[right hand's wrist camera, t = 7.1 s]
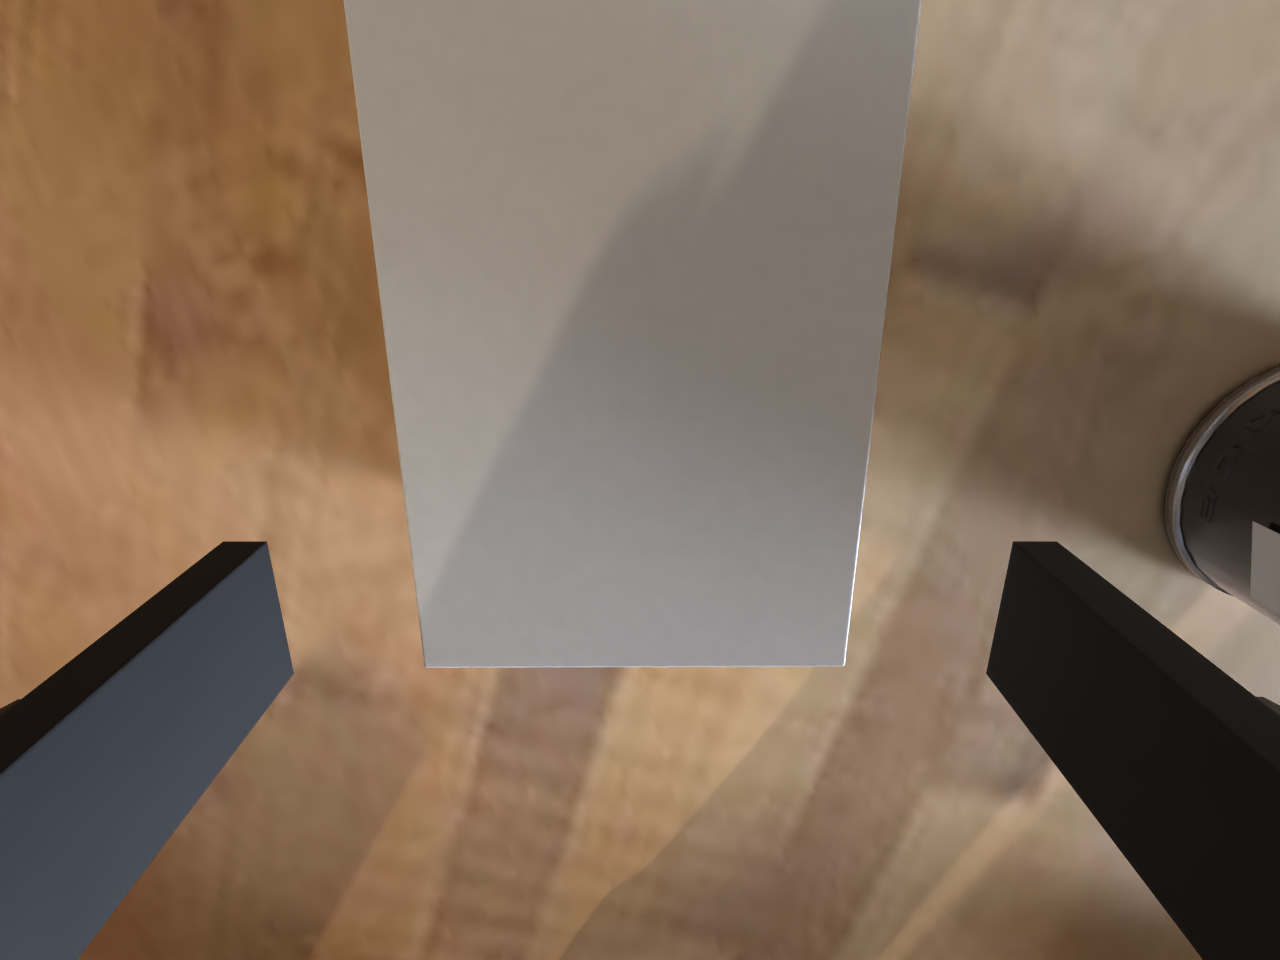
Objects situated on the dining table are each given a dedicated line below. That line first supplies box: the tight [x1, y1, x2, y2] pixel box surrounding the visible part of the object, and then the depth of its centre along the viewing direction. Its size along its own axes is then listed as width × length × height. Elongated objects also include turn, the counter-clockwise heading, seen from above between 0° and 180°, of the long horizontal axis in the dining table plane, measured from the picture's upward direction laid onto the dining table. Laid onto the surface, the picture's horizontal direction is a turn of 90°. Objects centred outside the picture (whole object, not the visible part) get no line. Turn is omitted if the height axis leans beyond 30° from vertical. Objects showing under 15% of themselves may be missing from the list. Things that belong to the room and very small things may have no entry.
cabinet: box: [344, 0, 921, 667], centre depth 19 cm, size 18×10×10 cm, turn 0°
